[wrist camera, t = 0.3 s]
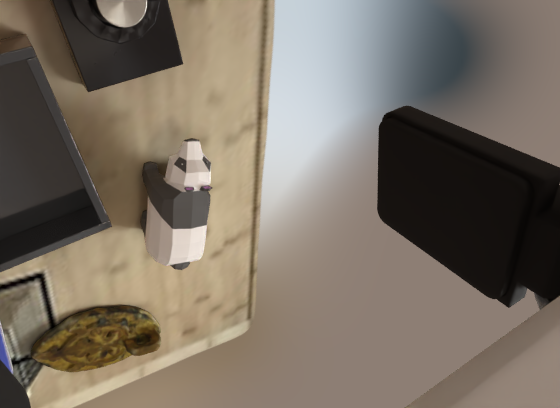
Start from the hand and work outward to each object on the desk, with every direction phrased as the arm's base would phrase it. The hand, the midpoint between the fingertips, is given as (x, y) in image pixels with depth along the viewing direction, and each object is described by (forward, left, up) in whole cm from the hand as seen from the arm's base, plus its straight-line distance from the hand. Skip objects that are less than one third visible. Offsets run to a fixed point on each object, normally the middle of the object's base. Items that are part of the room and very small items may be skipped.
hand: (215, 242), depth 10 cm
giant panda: (+20, +5, -36) cm, 42 cm away
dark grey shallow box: (+11, -8, -36) cm, 39 cm away
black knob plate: (+2, +6, -36) cm, 37 cm away
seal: (+37, -8, -36) cm, 52 cm away
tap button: (0, +6, -32) cm, 33 cm away
